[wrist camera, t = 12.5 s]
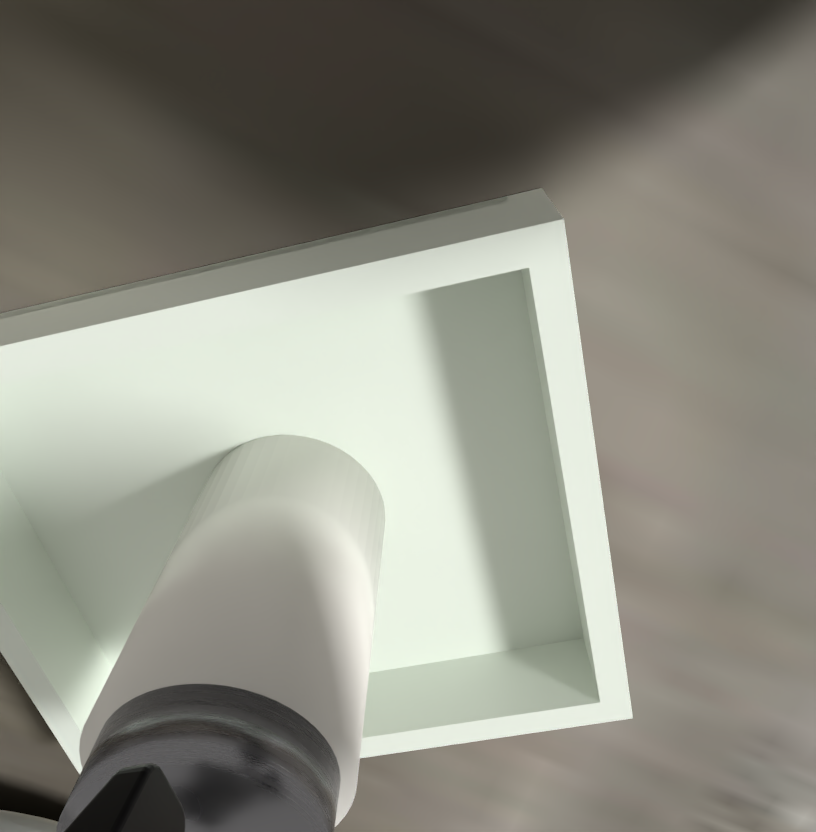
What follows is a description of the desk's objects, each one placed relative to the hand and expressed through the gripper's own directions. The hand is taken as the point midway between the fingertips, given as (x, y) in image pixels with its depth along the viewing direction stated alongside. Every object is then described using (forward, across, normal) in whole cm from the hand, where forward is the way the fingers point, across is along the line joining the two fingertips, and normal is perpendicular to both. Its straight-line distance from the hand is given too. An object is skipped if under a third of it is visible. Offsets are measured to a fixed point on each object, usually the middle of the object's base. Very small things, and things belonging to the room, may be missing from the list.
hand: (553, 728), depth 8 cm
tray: (+12, +6, +4) cm, 14 cm away
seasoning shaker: (+11, +6, +4) cm, 13 cm away
